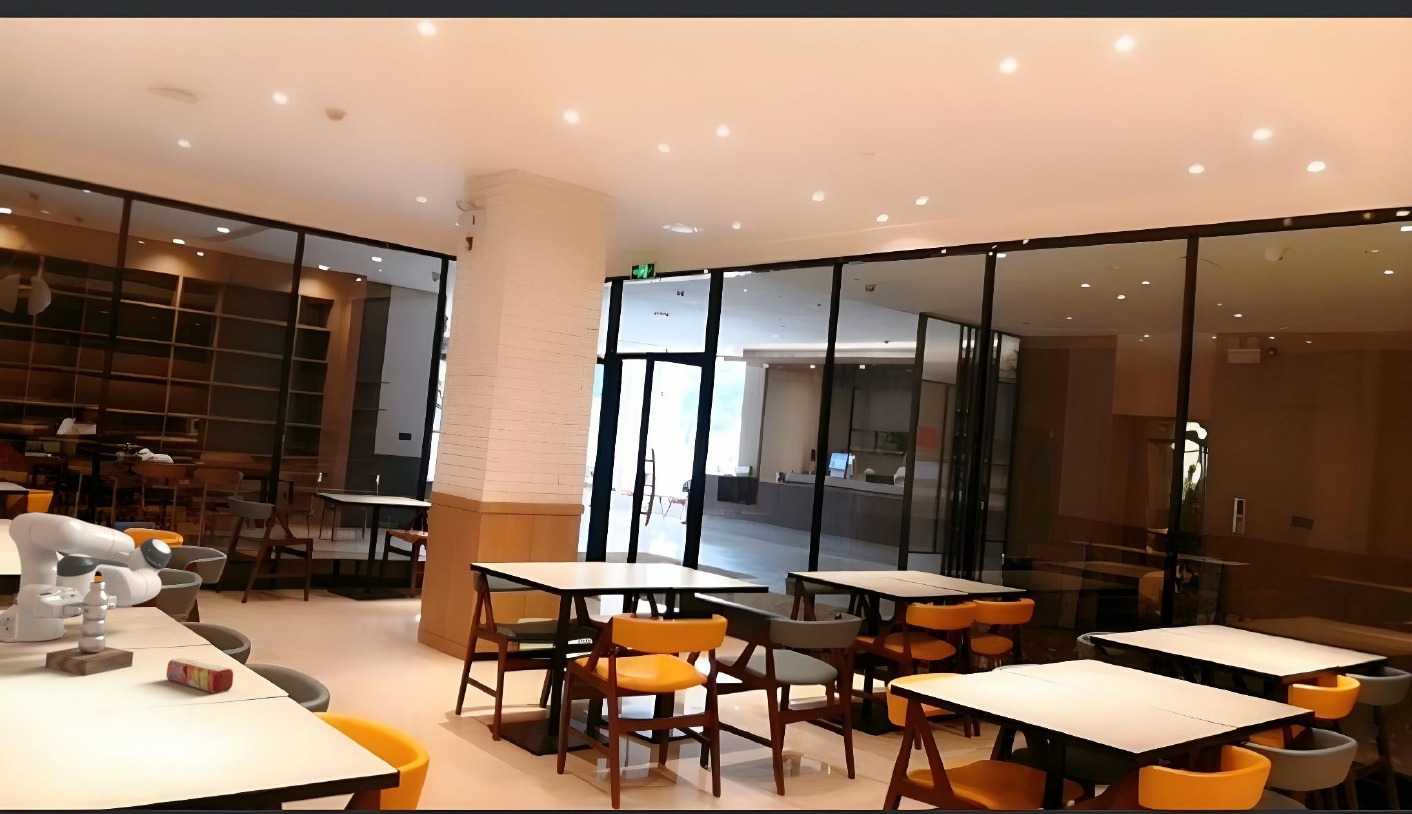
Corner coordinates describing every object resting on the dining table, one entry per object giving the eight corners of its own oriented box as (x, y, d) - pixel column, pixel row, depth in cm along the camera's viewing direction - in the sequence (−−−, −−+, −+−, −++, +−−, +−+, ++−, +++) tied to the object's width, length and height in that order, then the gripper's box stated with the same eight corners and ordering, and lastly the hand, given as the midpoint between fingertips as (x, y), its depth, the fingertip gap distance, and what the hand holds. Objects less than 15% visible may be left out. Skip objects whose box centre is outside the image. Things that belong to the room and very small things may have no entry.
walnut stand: (45, 667, 264) (46, 652, 264) (92, 658, 277) (94, 644, 277) (85, 675, 258) (86, 660, 258) (132, 665, 271) (133, 651, 271)
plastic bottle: (92, 655, 264) (100, 584, 265) (71, 653, 265) (78, 582, 266) (110, 651, 270) (117, 581, 271) (89, 648, 271) (96, 579, 272)
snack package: (163, 681, 258) (165, 657, 259) (186, 677, 264) (188, 653, 264) (211, 696, 248) (213, 670, 248) (234, 691, 254) (236, 666, 254)
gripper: (96, 608, 282) (129, 614, 278) (27, 618, 263) (61, 625, 258) (98, 587, 283) (131, 593, 278) (29, 596, 263) (63, 601, 259)
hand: (97, 608), depth 268 cm, fingers open, 8 cm apart
